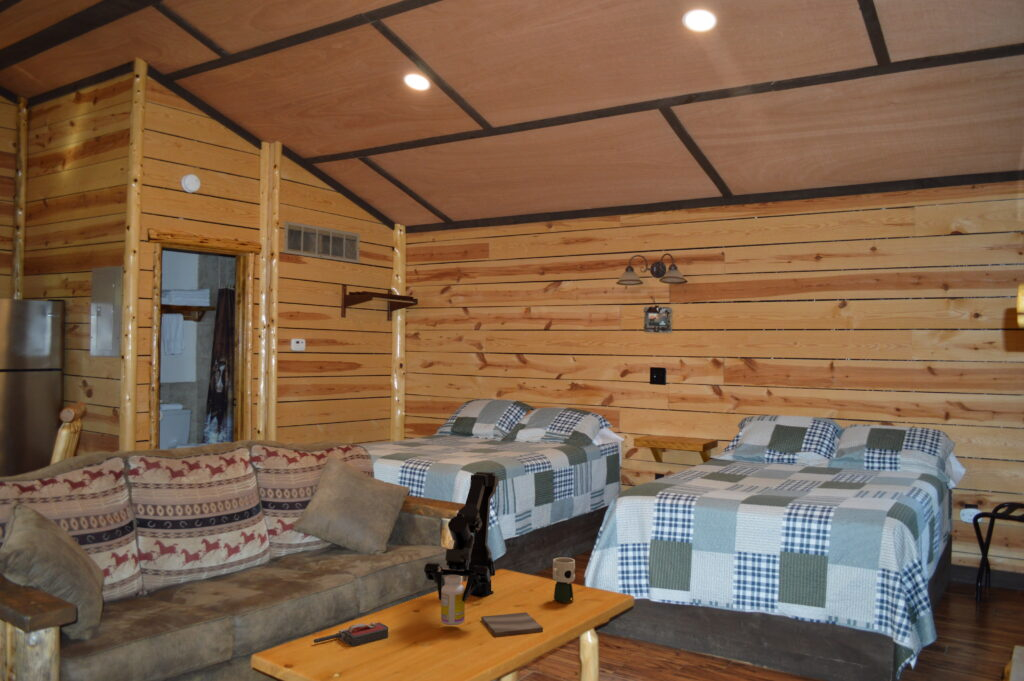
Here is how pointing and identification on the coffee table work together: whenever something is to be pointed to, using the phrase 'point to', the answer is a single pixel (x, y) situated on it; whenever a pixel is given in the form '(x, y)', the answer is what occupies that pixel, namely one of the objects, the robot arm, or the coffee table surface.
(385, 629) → the walkie-talkie
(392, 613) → the coffee table surface
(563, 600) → the character mug
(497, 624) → the walnut board
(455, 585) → the supplement bottle
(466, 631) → the coffee table surface
